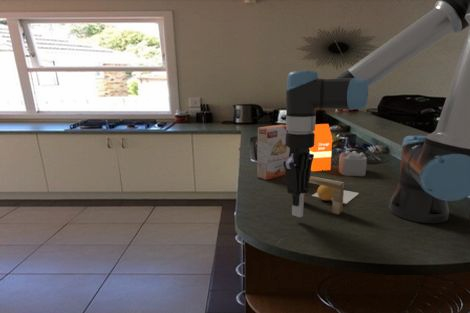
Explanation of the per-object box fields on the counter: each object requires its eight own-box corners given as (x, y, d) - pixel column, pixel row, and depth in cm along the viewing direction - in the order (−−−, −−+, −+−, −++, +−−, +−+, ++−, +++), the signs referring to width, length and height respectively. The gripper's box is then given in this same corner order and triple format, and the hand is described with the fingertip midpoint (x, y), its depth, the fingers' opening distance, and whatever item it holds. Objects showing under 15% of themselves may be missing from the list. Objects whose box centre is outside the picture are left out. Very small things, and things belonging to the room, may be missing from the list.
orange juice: (330, 169, 139) (333, 124, 135) (312, 171, 138) (314, 125, 133) (322, 165, 147) (324, 122, 142) (304, 166, 145) (306, 123, 140)
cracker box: (267, 181, 125) (267, 128, 120) (256, 177, 130) (256, 127, 125) (289, 174, 134) (291, 125, 129) (279, 171, 139) (279, 123, 134)
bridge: (299, 200, 104) (300, 174, 102) (342, 211, 95) (344, 182, 93) (294, 203, 102) (295, 176, 100) (338, 214, 93) (340, 184, 91)
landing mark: (359, 193, 110) (359, 193, 110) (346, 204, 101) (346, 203, 101) (326, 187, 117) (326, 186, 117) (311, 196, 108) (311, 195, 108)
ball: (330, 203, 100) (336, 200, 105) (331, 186, 100) (337, 183, 104) (314, 200, 104) (320, 197, 108) (315, 183, 103) (321, 181, 107)
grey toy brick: (341, 175, 131) (342, 155, 129) (336, 167, 144) (337, 148, 142) (367, 176, 129) (369, 155, 127) (360, 168, 142) (361, 149, 140)
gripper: (299, 127, 90) (296, 205, 95) (274, 133, 80) (273, 219, 86) (324, 129, 85) (320, 211, 91) (301, 136, 76) (298, 227, 81)
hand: (297, 215), depth 88 cm, fingers closed
